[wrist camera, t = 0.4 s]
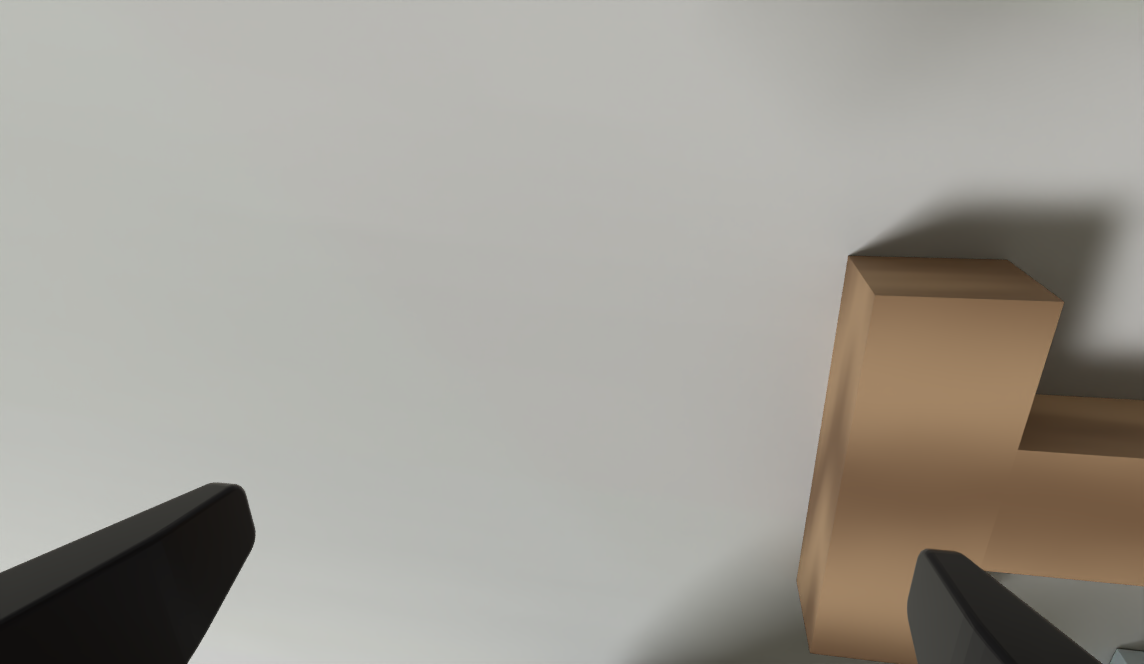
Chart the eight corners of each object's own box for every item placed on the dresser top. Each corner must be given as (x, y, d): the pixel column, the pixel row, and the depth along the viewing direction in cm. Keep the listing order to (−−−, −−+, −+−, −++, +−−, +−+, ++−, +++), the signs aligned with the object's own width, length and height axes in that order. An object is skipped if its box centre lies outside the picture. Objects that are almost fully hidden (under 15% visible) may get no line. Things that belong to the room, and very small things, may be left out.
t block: (1183, 620, 21) (1254, 707, 18) (796, 580, 23) (809, 653, 20) (1363, 268, 16) (1498, 316, 13) (848, 255, 18) (875, 295, 15)
